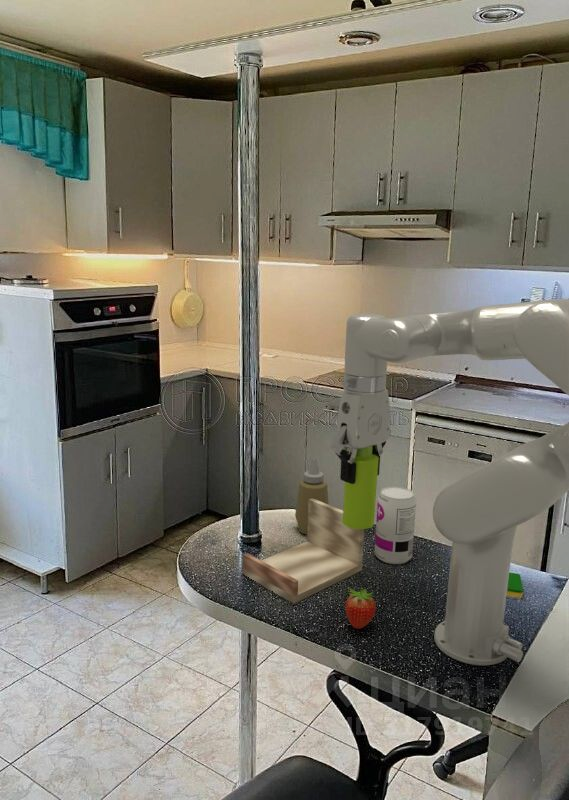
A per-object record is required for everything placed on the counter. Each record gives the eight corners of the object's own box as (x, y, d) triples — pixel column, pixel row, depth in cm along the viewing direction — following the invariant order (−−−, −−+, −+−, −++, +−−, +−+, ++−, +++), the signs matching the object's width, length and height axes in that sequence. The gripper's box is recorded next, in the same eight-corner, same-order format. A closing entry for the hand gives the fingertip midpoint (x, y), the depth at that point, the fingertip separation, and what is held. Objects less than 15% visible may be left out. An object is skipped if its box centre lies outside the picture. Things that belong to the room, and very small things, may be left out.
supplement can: (373, 563, 142) (377, 498, 138) (375, 546, 150) (379, 484, 146) (411, 567, 140) (417, 501, 137) (411, 550, 148) (416, 487, 145)
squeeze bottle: (301, 540, 152) (303, 465, 148) (290, 525, 159) (292, 454, 155) (333, 535, 155) (337, 462, 150) (321, 522, 162) (324, 452, 158)
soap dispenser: (373, 516, 128) (380, 416, 124) (373, 530, 121) (381, 425, 117) (343, 514, 129) (349, 414, 125) (341, 527, 122) (348, 422, 118)
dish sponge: (521, 601, 129) (523, 590, 128) (448, 591, 132) (449, 580, 132) (518, 584, 135) (520, 573, 135) (449, 574, 139) (450, 563, 138)
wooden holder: (361, 570, 139) (364, 519, 136) (293, 603, 125) (295, 548, 122) (310, 545, 149) (312, 498, 146) (242, 574, 136) (243, 522, 133)
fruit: (358, 617, 121) (360, 577, 119) (379, 629, 117) (382, 589, 116) (337, 627, 118) (339, 586, 116) (359, 640, 114) (361, 599, 112)
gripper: (347, 393, 111) (343, 494, 115) (411, 380, 122) (404, 473, 126) (316, 385, 116) (312, 482, 120) (379, 374, 127) (374, 463, 131)
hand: (359, 476), depth 123 cm, fingers closed on soap dispenser, 6 cm apart
